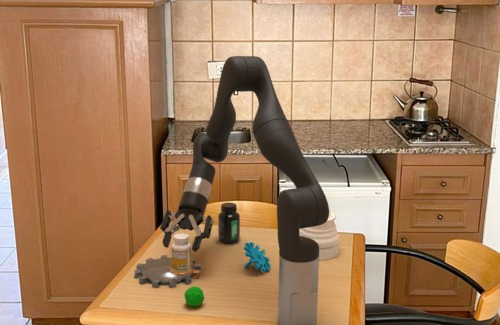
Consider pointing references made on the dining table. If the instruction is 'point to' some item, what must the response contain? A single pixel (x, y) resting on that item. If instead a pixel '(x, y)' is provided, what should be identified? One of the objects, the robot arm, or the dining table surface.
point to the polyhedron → (194, 296)
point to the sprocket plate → (165, 272)
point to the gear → (256, 257)
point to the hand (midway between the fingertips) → (179, 248)
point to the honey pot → (324, 237)
